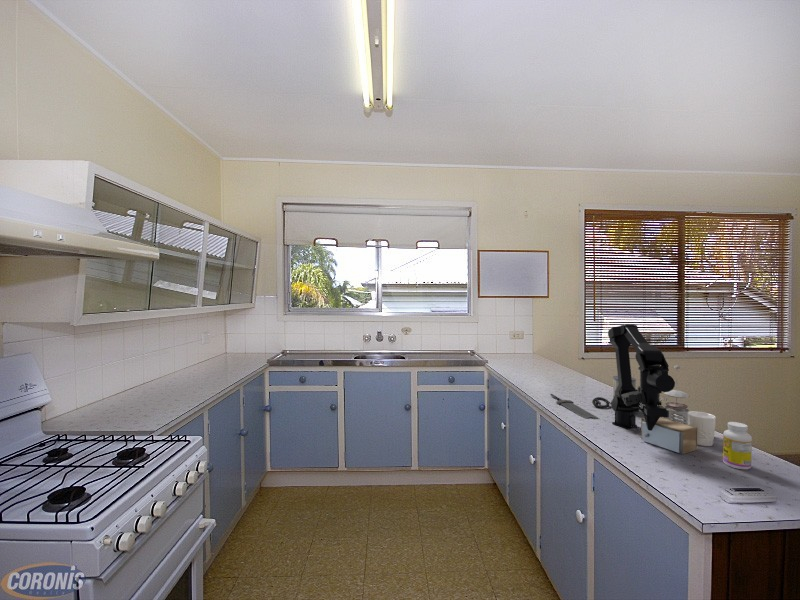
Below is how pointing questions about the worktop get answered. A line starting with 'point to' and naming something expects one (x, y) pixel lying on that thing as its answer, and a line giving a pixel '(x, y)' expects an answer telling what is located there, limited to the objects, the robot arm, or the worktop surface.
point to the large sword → (574, 408)
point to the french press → (677, 405)
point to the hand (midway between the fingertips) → (649, 430)
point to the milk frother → (615, 385)
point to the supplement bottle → (737, 446)
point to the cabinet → (687, 430)
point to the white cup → (703, 426)
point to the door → (663, 437)
